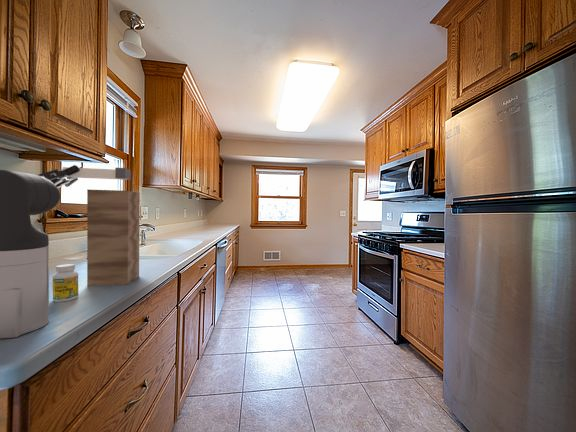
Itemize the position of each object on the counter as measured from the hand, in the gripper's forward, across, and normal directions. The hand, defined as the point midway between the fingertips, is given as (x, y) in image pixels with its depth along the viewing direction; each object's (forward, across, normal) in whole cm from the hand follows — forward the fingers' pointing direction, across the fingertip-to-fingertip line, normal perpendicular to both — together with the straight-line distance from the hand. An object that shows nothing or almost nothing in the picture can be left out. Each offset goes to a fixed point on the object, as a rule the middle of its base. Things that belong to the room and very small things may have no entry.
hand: (81, 168), depth 84 cm
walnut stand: (-11, 0, +39) cm, 41 cm away
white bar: (+3, 0, +5) cm, 6 cm away
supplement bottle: (-15, -17, +37) cm, 44 cm away
